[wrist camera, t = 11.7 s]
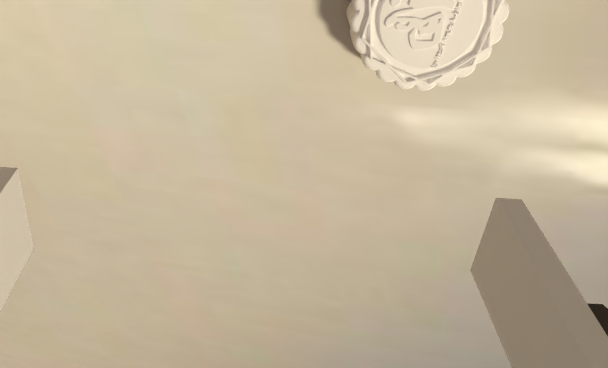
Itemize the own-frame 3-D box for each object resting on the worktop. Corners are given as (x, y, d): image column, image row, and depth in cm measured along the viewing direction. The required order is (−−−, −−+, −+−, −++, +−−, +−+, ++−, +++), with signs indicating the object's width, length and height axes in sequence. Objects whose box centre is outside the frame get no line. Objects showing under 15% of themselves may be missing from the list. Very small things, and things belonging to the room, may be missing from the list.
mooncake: (374, -97, 41) (381, -88, 38) (524, -53, 43) (542, -42, 40) (327, 58, 47) (331, 75, 45) (460, 90, 50) (472, 108, 47)
